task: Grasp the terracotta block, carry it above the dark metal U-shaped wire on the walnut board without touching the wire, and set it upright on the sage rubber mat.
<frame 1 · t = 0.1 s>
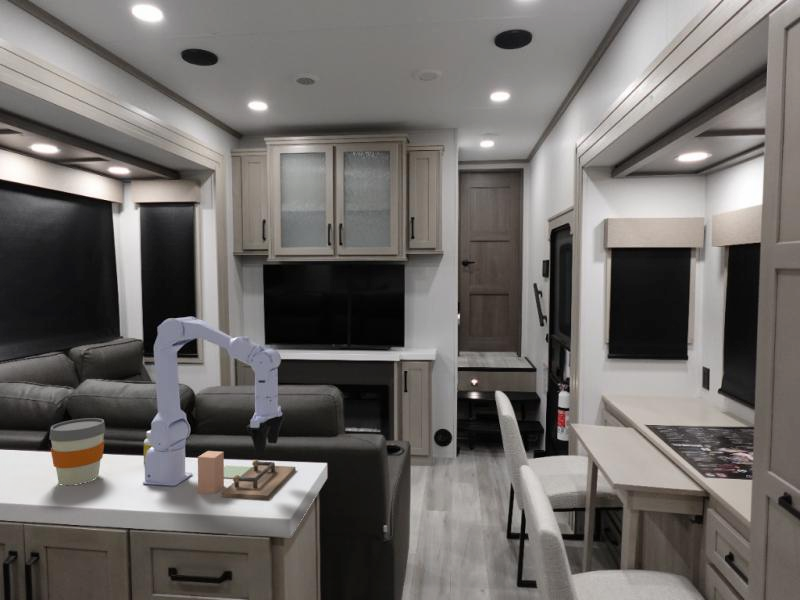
hand: (266, 447, 123), 10 cm above the table, tool pointing down, fingers open, 7 cm apart
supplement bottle: (154, 464, 139), on the table
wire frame: (260, 482, 126), on the table
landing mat: (232, 472, 133), on the table
reusable coffee cup: (78, 479, 128), on the table
terracotta block: (211, 489, 122), on the table
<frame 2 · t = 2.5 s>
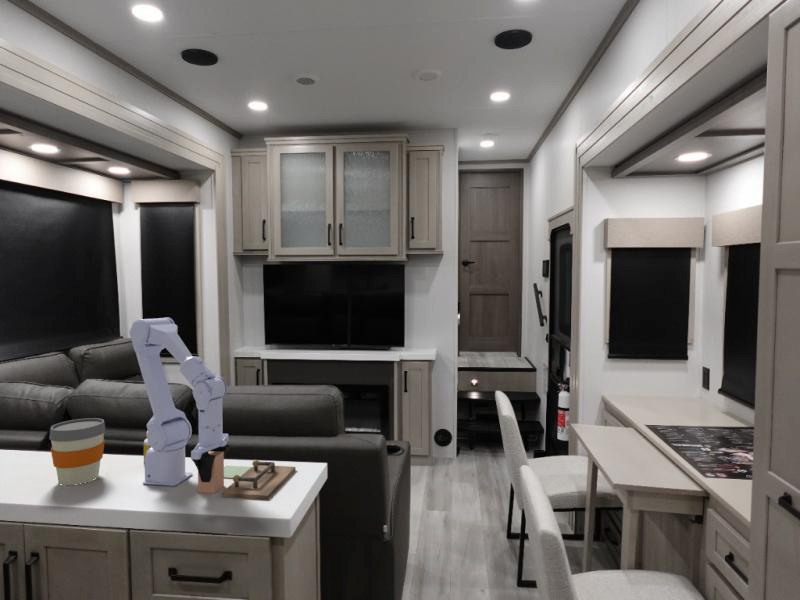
hand: (211, 477, 122), 3 cm above the table, tool pointing down, fingers closed on terracotta block, 4 cm apart
terracotta block: (211, 488, 122), on the table, touching gripper
everything else where it was.
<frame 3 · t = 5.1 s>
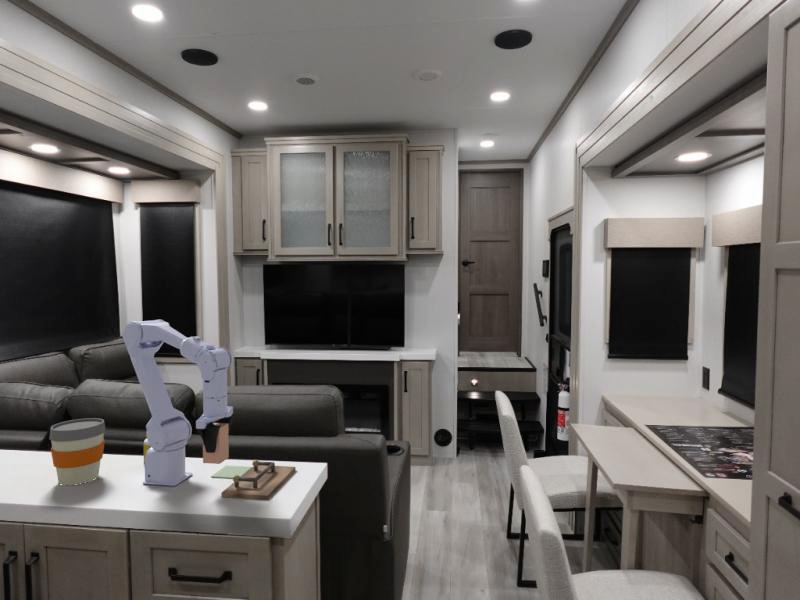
hand: (215, 448, 121), 10 cm above the table, tool pointing down, fingers closed on terracotta block, 4 cm apart
terracotta block: (216, 460, 121), point 7 cm above the table, touching gripper
everything else where it was.
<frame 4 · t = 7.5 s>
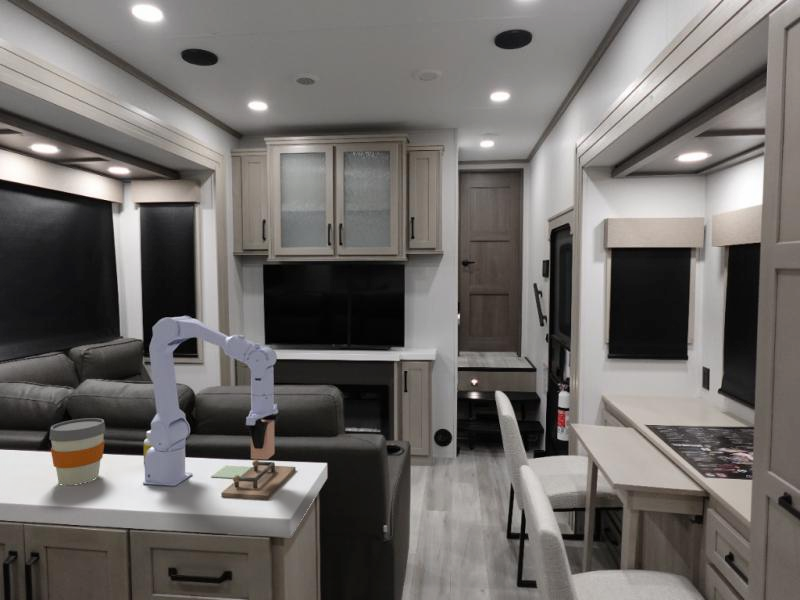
hand: (262, 445, 124), 10 cm above the table, tool pointing down, fingers closed on terracotta block, 4 cm apart
terracotta block: (262, 456, 124), point 7 cm above the table, touching gripper
everything else where it was.
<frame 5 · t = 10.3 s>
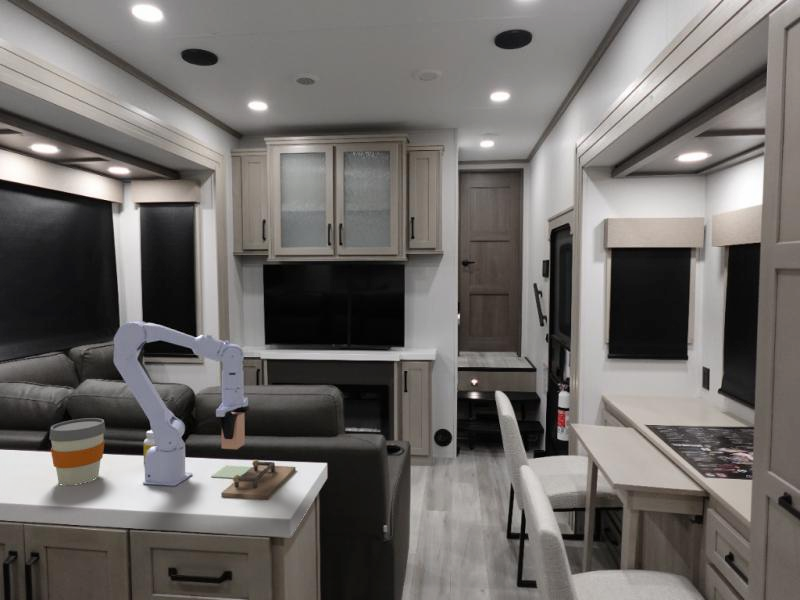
hand: (233, 435, 132), 10 cm above the table, tool pointing down, fingers closed on terracotta block, 4 cm apart
terracotta block: (233, 446, 132), point 7 cm above the table, touching gripper
everything else where it was.
when the fingers open (4 cm above the table, at t = 12.8 s): terracotta block stays where it is, resting on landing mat.
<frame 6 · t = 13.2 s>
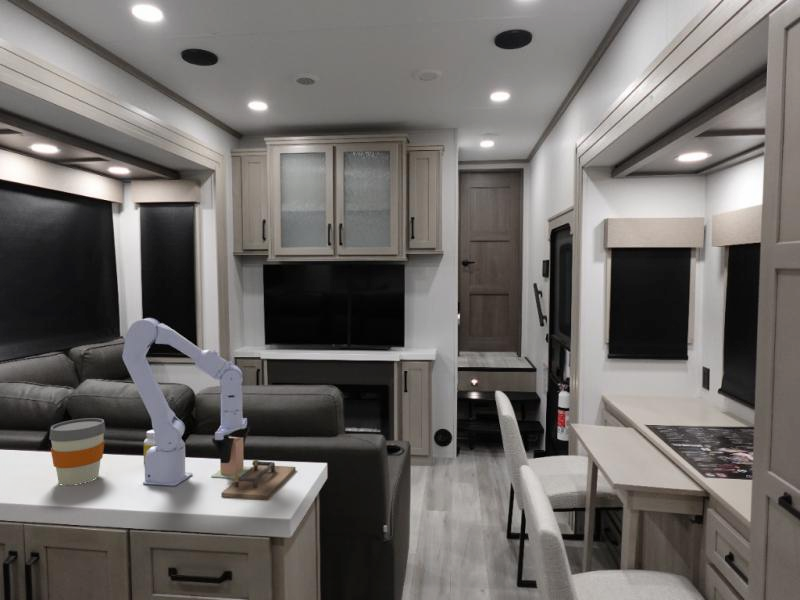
hand: (232, 457, 133), 4 cm above the table, tool pointing down, fingers open, 7 cm apart
terracotta block: (232, 471, 133), resting on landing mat
everything else where it was.
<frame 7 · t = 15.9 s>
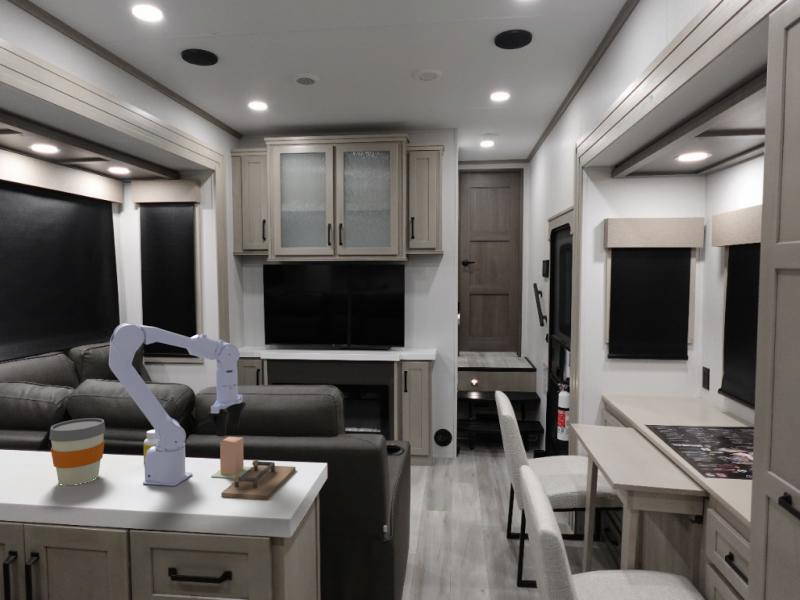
hand: (228, 431, 136), 10 cm above the table, tool pointing down, fingers open, 7 cm apart
nothing on the table moved.
at the end: terracotta block 0.0 cm from the target spot, resting on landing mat; terracotta block tilted 0°; terracotta block touching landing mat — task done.
